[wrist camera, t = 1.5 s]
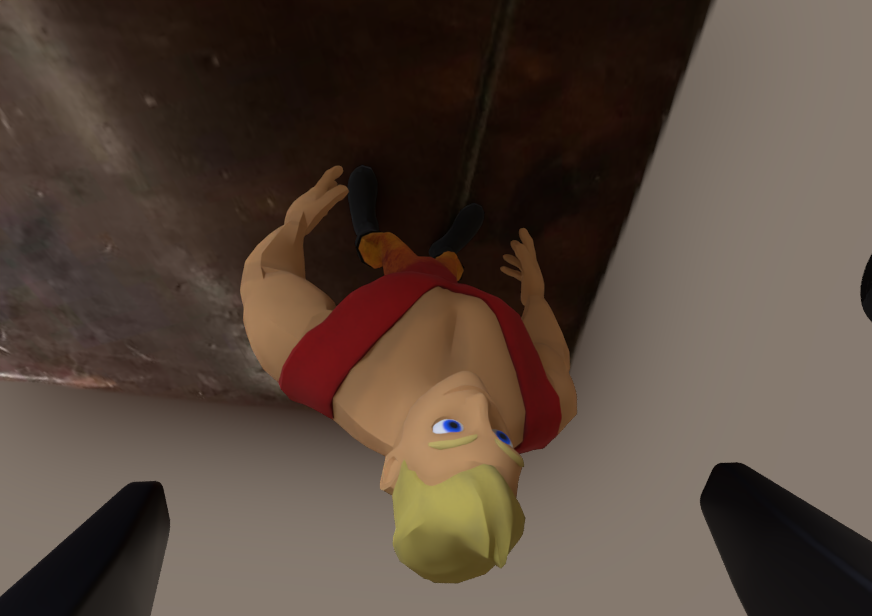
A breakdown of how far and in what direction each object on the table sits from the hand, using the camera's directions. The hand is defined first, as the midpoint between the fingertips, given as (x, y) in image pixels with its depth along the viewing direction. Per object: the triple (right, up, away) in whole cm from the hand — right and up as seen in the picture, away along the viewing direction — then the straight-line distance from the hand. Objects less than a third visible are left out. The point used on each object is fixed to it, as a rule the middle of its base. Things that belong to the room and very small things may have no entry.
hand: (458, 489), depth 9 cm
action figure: (-1, +7, +12) cm, 14 cm away
